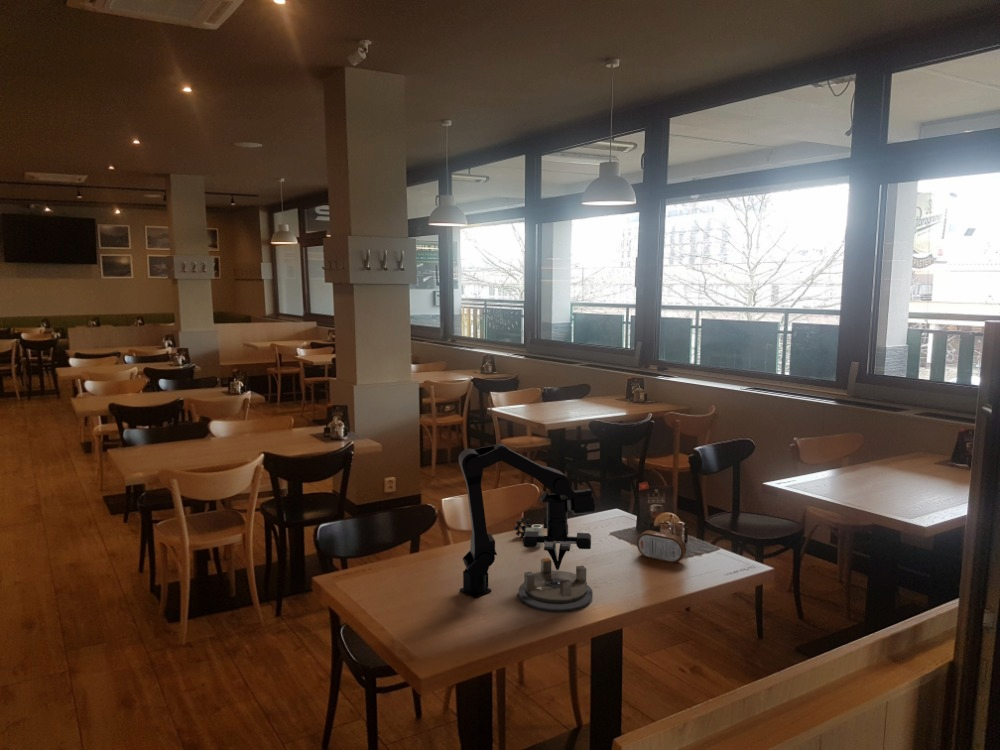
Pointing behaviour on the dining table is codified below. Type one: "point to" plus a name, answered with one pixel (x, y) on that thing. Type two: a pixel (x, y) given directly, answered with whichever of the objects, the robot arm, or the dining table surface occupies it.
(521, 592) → the base plate
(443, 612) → the dining table surface
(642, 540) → the tin
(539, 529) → the valve
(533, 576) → the round fixture plate
